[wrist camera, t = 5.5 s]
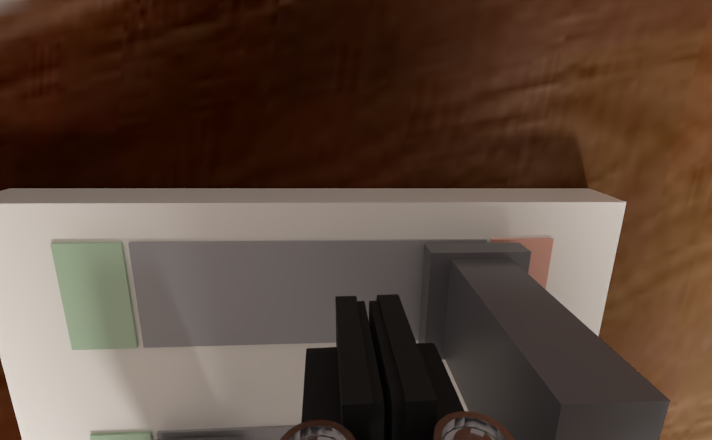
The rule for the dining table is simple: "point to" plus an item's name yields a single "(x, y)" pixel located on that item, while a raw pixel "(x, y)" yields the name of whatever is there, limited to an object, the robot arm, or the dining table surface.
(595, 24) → the dining table surface
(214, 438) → the middle switch
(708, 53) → the dining table surface
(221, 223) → the switch board
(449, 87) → the dining table surface
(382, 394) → the robot arm
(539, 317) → the switch
